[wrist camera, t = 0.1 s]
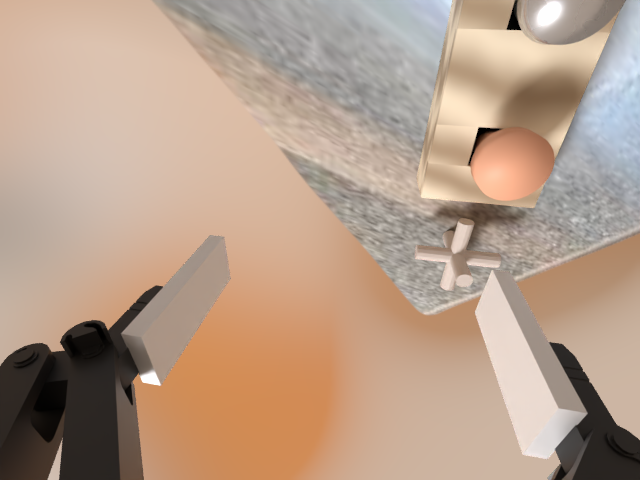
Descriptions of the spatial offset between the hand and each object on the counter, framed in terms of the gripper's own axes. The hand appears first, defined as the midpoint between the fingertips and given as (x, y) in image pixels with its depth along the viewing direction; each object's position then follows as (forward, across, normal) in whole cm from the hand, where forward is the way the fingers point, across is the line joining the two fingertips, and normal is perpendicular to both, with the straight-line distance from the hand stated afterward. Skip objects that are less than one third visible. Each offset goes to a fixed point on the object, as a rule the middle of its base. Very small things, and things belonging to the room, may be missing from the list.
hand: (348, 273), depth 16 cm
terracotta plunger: (+23, +13, +1) cm, 27 cm away
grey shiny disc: (+23, +13, +13) cm, 30 cm away
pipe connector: (+28, +13, -13) cm, 33 cm away
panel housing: (+28, +13, +7) cm, 31 cm away
